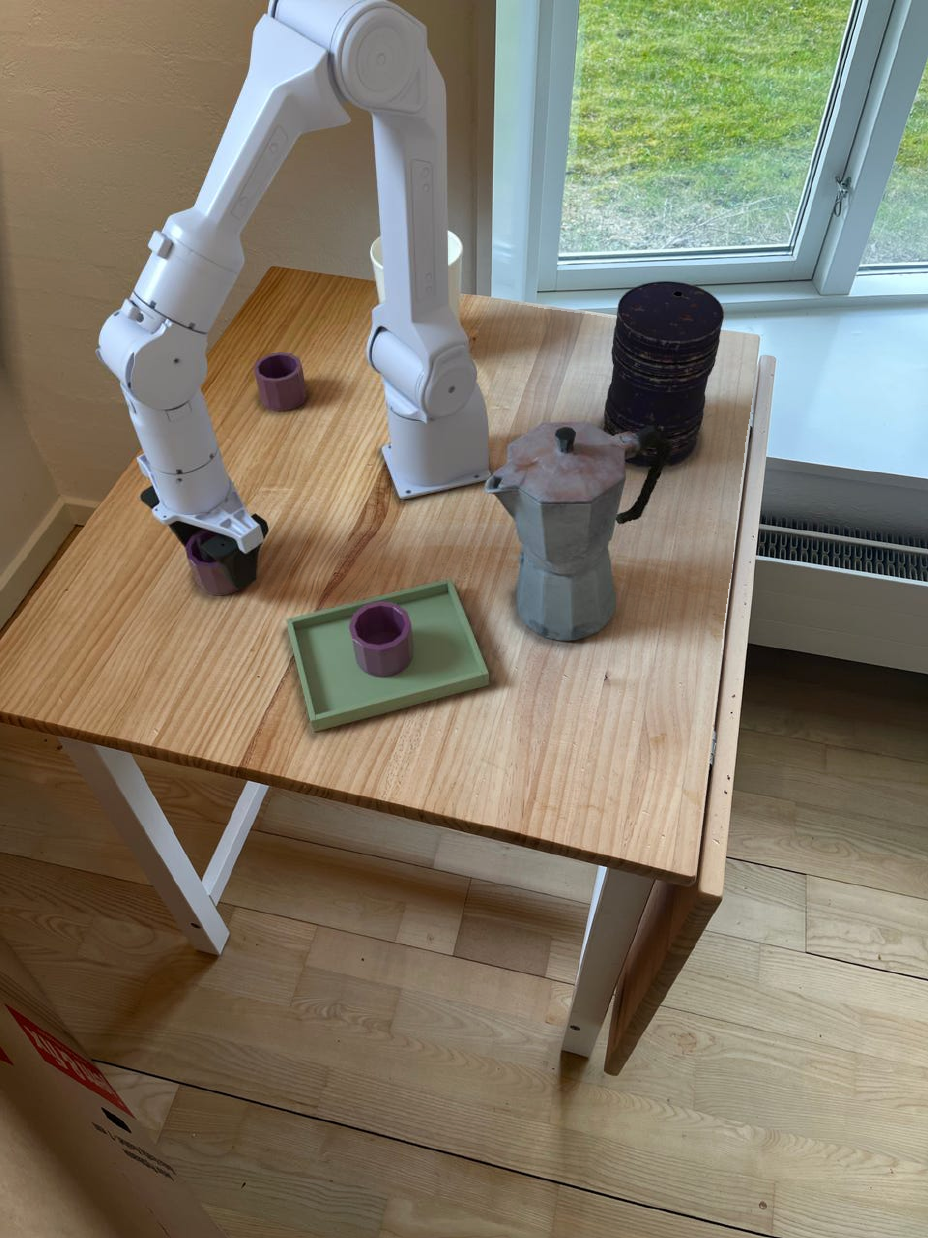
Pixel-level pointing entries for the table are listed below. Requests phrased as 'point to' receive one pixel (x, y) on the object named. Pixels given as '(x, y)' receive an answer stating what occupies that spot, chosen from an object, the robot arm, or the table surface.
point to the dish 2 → (382, 639)
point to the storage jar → (662, 364)
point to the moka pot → (570, 519)
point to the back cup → (280, 381)
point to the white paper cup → (453, 271)
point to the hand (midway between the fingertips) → (220, 563)
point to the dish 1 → (207, 566)
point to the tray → (351, 694)
